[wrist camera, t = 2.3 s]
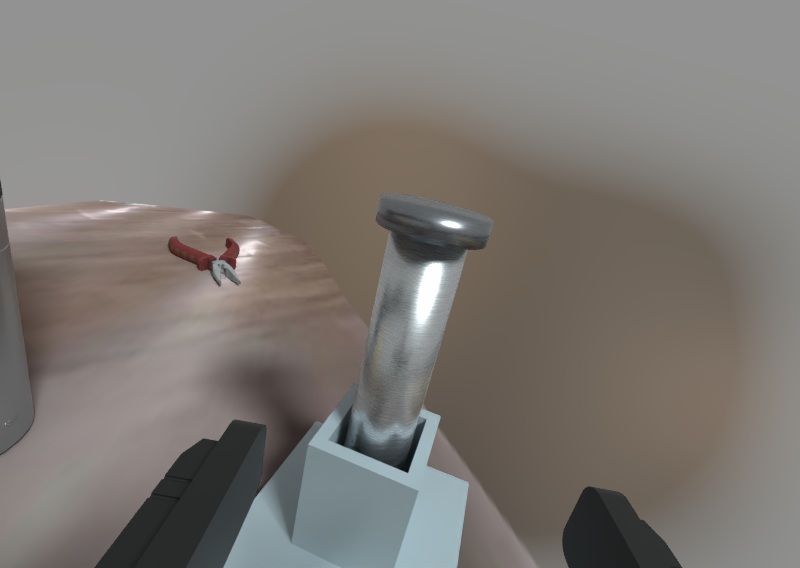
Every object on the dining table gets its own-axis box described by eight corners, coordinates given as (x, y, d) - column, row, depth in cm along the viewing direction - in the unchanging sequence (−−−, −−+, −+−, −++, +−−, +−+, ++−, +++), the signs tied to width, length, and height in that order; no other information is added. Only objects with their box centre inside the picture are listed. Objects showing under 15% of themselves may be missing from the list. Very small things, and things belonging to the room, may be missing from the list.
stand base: (191, 595, 21) (196, 467, 18) (313, 433, 34) (329, 343, 31) (429, 726, 18) (486, 603, 15) (463, 496, 31) (498, 403, 28)
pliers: (188, 293, 54) (188, 276, 53) (166, 247, 68) (166, 234, 67) (267, 289, 61) (268, 274, 60) (232, 248, 75) (233, 236, 74)
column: (301, 535, 23) (362, 196, 16) (339, 469, 28) (399, 190, 21) (384, 574, 22) (490, 230, 15) (408, 499, 27) (496, 216, 20)
